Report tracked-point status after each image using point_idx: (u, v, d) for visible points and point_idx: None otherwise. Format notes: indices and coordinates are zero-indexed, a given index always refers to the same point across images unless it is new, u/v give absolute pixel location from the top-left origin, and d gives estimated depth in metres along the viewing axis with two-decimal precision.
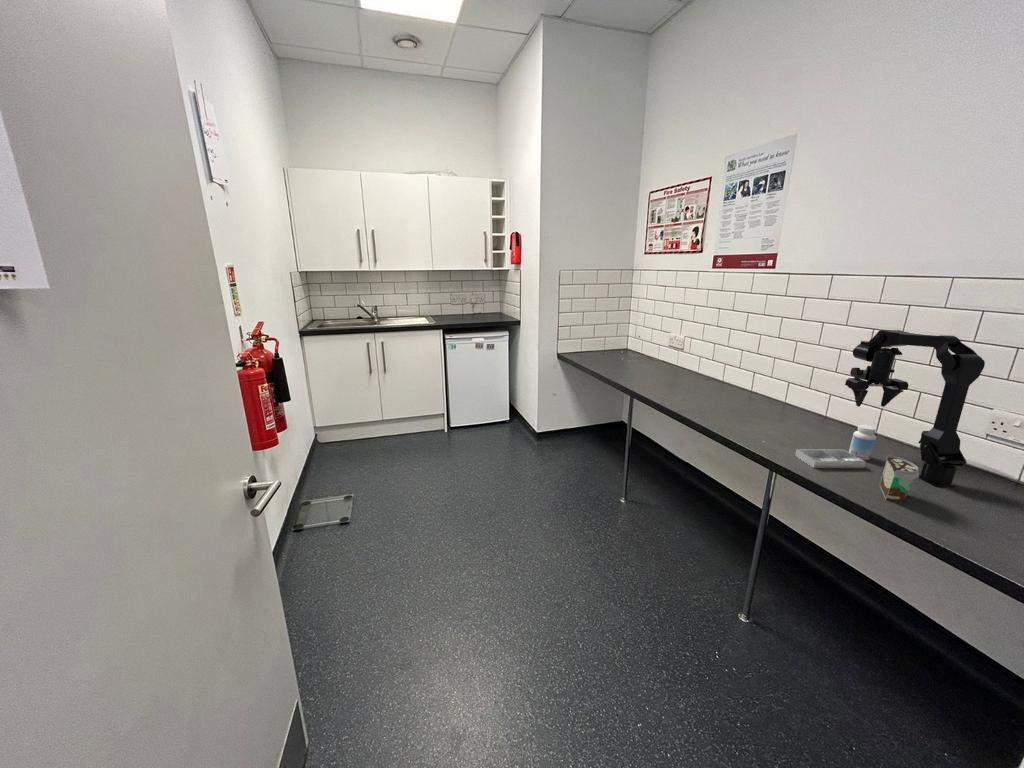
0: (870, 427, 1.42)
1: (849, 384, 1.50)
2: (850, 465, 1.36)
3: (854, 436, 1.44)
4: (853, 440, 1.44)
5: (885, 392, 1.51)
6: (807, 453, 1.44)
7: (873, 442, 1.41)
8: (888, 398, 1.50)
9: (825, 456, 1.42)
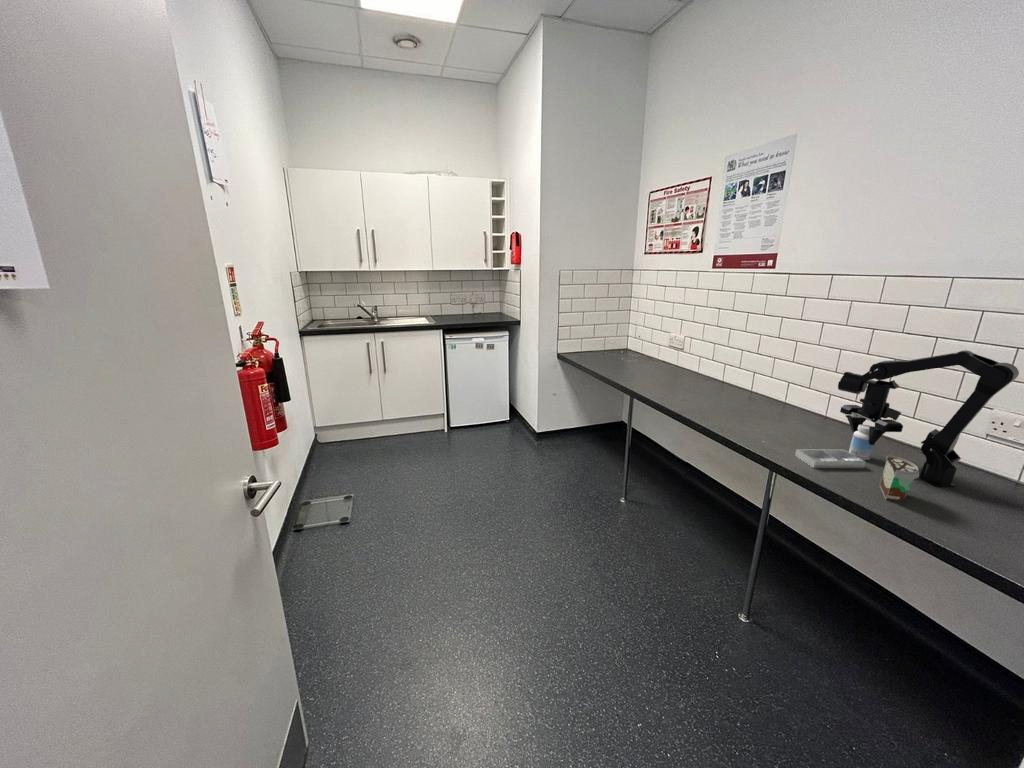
0: None
1: None
2: (850, 465, 1.36)
3: (854, 436, 1.44)
4: (853, 440, 1.44)
5: None
6: (807, 453, 1.44)
7: None
8: None
9: (825, 456, 1.42)
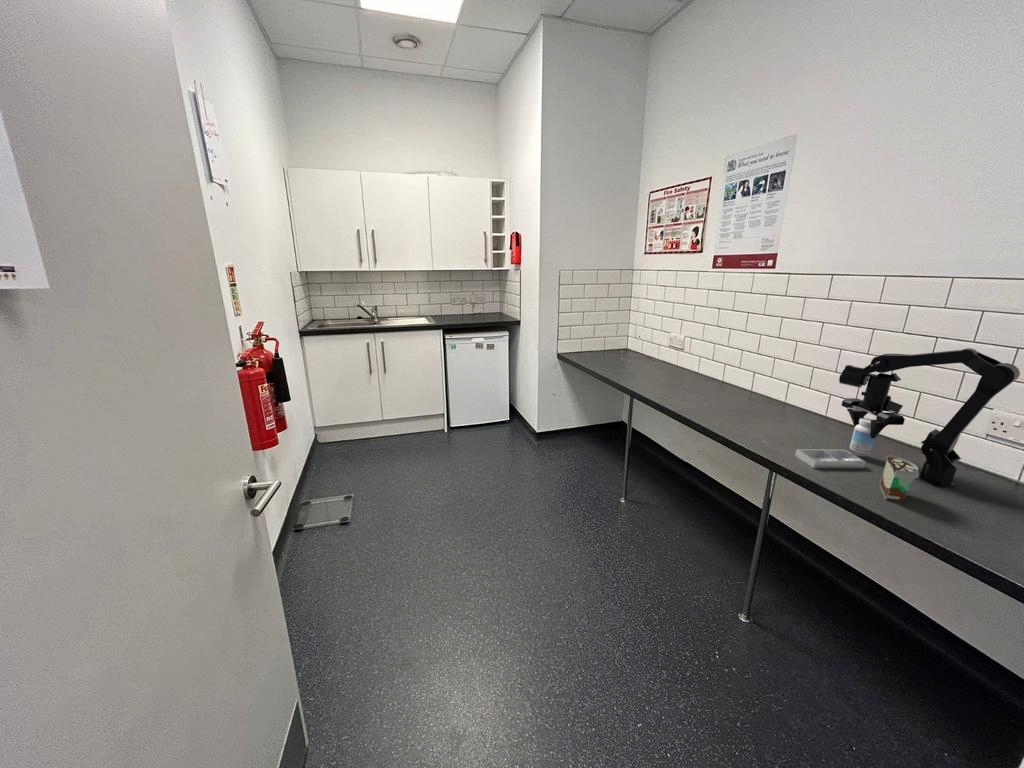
0: None
1: None
2: (850, 465, 1.36)
3: (855, 430, 1.43)
4: (854, 434, 1.43)
5: None
6: (807, 453, 1.44)
7: None
8: None
9: (825, 456, 1.42)
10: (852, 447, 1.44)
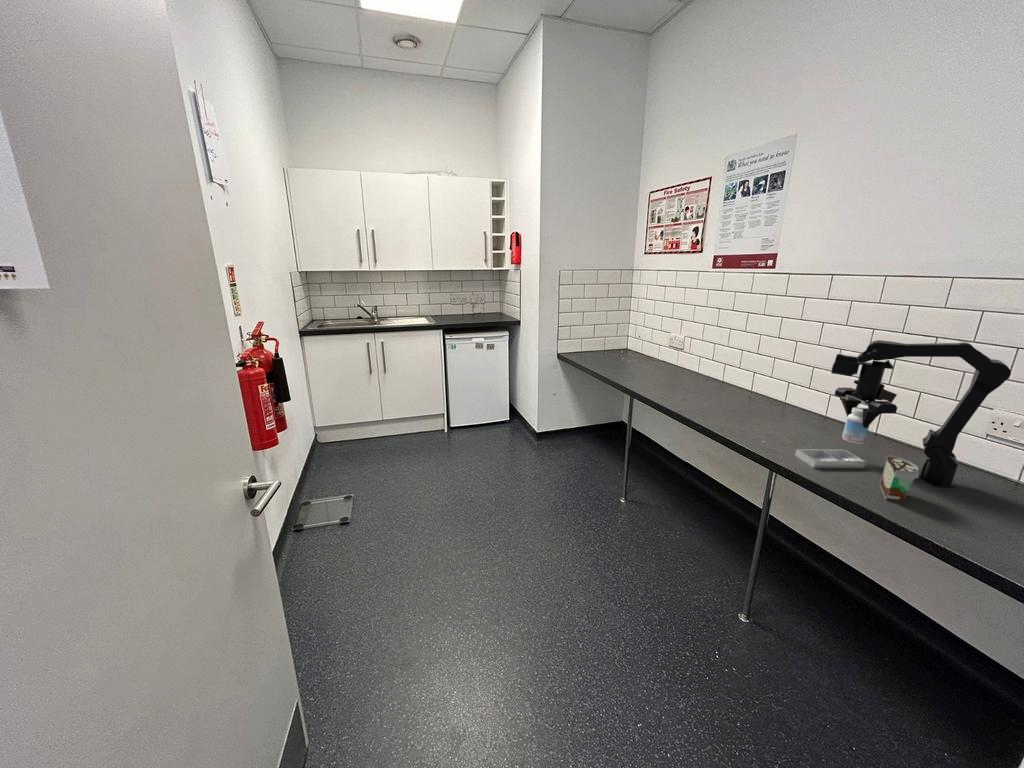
0: None
1: None
2: (850, 465, 1.36)
3: (848, 419, 1.40)
4: (847, 424, 1.40)
5: None
6: (807, 453, 1.44)
7: None
8: None
9: (825, 456, 1.42)
10: (844, 437, 1.41)
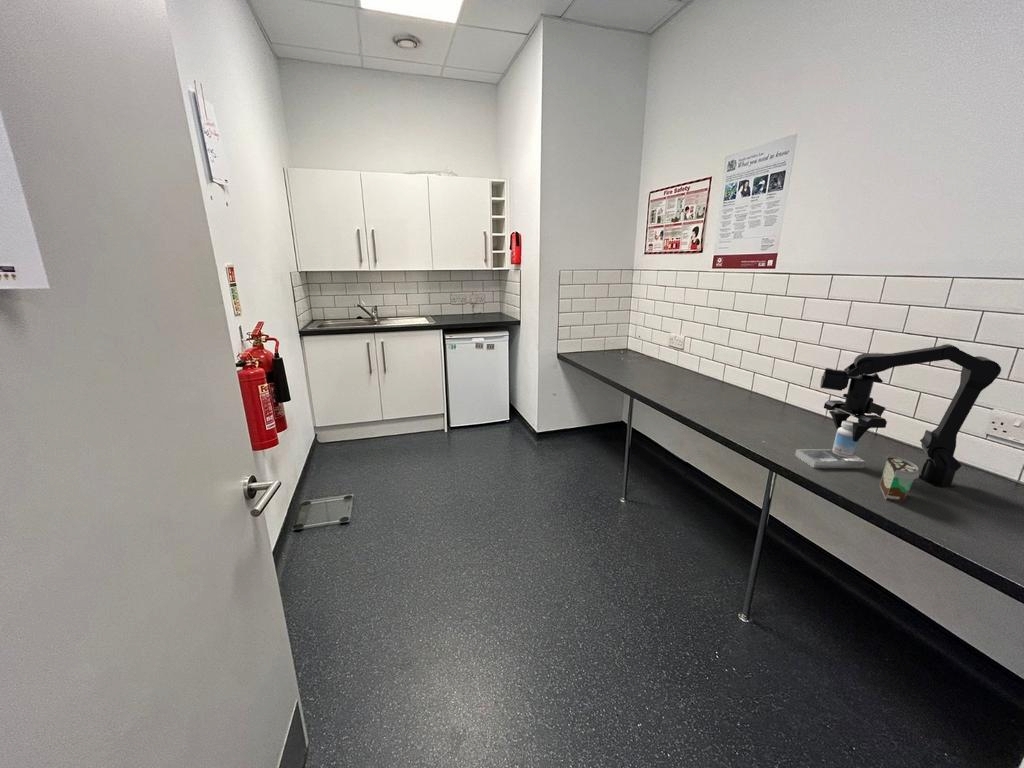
0: None
1: None
2: (850, 465, 1.36)
3: (838, 433, 1.39)
4: (837, 437, 1.39)
5: None
6: (807, 453, 1.44)
7: None
8: None
9: (825, 456, 1.42)
10: (834, 451, 1.40)
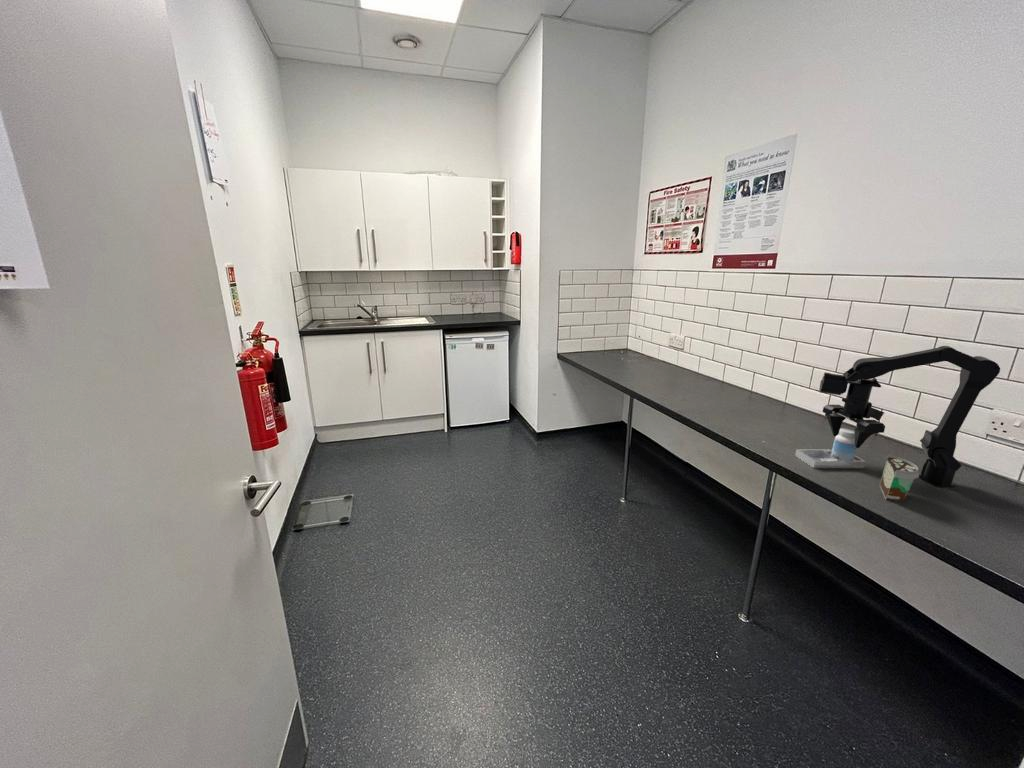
0: (852, 431, 1.37)
1: None
2: (850, 465, 1.36)
3: (835, 440, 1.39)
4: (834, 444, 1.40)
5: None
6: (807, 453, 1.44)
7: None
8: None
9: (825, 456, 1.42)
10: None
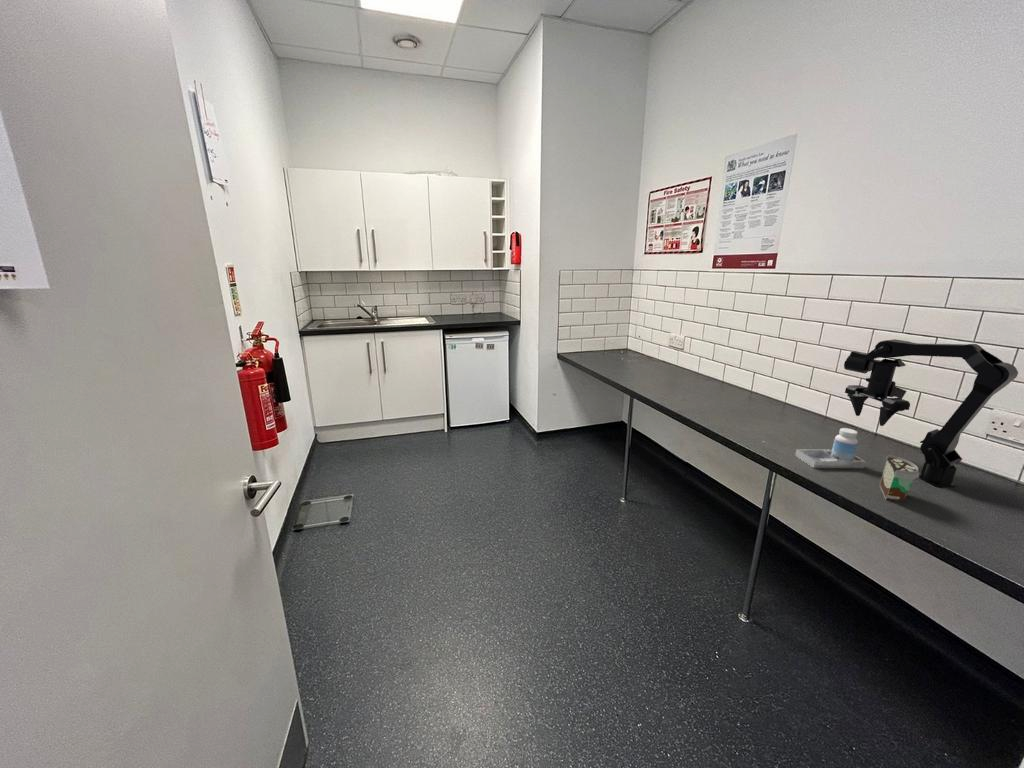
0: (852, 431, 1.37)
1: None
2: (850, 465, 1.36)
3: (836, 440, 1.39)
4: (834, 444, 1.40)
5: None
6: (807, 453, 1.44)
7: (855, 446, 1.36)
8: None
9: (825, 456, 1.42)
10: None
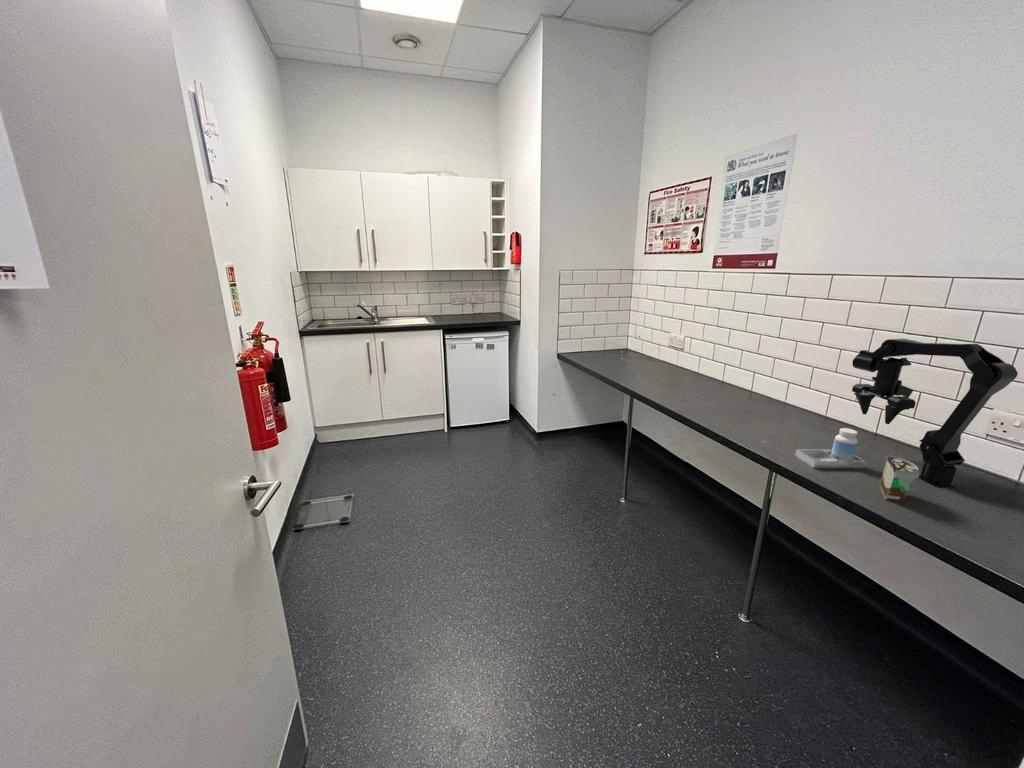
0: (852, 431, 1.37)
1: None
2: (850, 465, 1.36)
3: (836, 440, 1.39)
4: (834, 444, 1.40)
5: None
6: (807, 453, 1.44)
7: (855, 446, 1.36)
8: None
9: (825, 456, 1.42)
10: None
